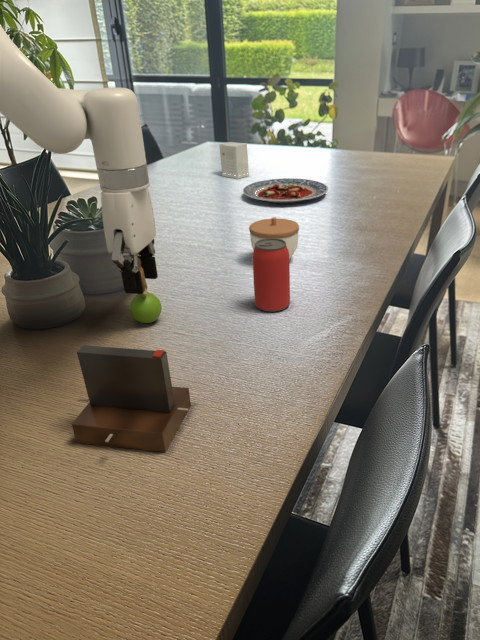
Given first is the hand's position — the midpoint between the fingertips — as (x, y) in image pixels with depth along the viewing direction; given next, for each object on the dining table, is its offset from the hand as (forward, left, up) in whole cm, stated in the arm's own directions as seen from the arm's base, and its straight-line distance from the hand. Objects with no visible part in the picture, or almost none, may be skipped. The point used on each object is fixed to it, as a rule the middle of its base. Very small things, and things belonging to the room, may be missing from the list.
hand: (141, 284), depth 95 cm
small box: (-12, +109, -7) cm, 110 cm away
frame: (+10, -29, -4) cm, 31 cm away
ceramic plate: (+10, +85, -7) cm, 86 cm away
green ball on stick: (0, 0, -7) cm, 7 cm away
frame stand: (+10, -29, -7) cm, 31 cm away
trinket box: (+17, +32, -7) cm, 37 cm away
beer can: (+21, +9, -7) cm, 24 cm away
